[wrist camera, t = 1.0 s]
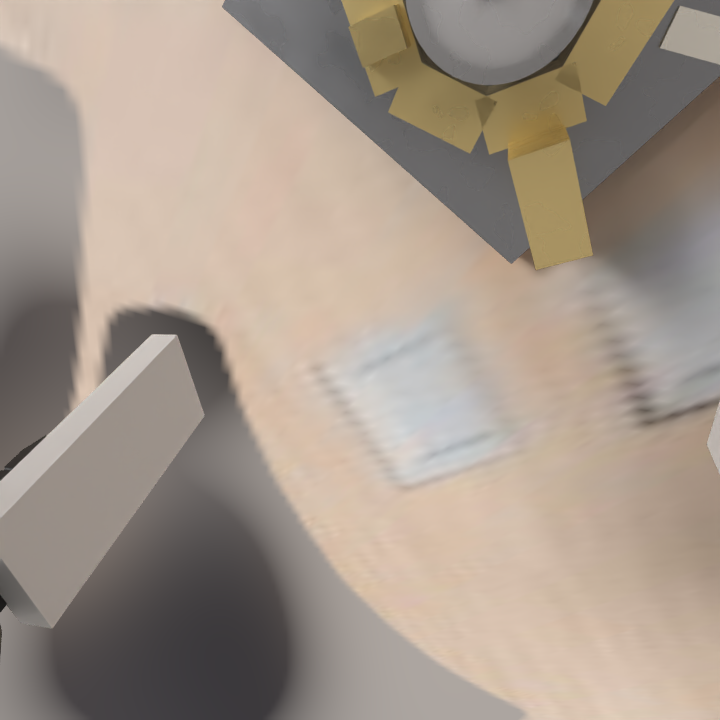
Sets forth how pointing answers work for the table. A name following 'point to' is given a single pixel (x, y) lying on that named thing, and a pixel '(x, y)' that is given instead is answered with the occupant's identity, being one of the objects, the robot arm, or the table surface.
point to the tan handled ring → (513, 106)
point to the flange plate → (448, 163)
